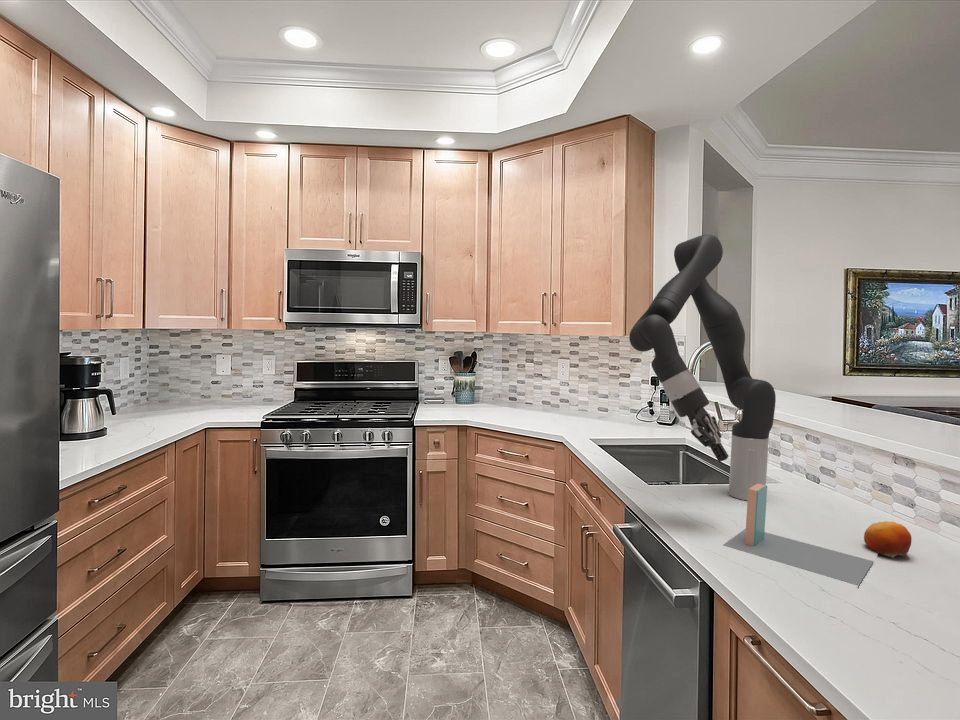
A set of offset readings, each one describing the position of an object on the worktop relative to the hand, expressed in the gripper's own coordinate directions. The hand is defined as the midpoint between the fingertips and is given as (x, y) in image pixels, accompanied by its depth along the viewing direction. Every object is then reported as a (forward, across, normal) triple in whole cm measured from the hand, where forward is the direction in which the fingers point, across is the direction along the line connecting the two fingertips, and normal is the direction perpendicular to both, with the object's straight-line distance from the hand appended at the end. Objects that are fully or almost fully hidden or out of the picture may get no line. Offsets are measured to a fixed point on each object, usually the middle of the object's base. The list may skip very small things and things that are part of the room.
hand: (724, 459), depth 122 cm
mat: (+22, +6, +5) cm, 23 cm away
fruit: (+31, -9, +17) cm, 37 cm away
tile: (+18, +5, -2) cm, 18 cm away
